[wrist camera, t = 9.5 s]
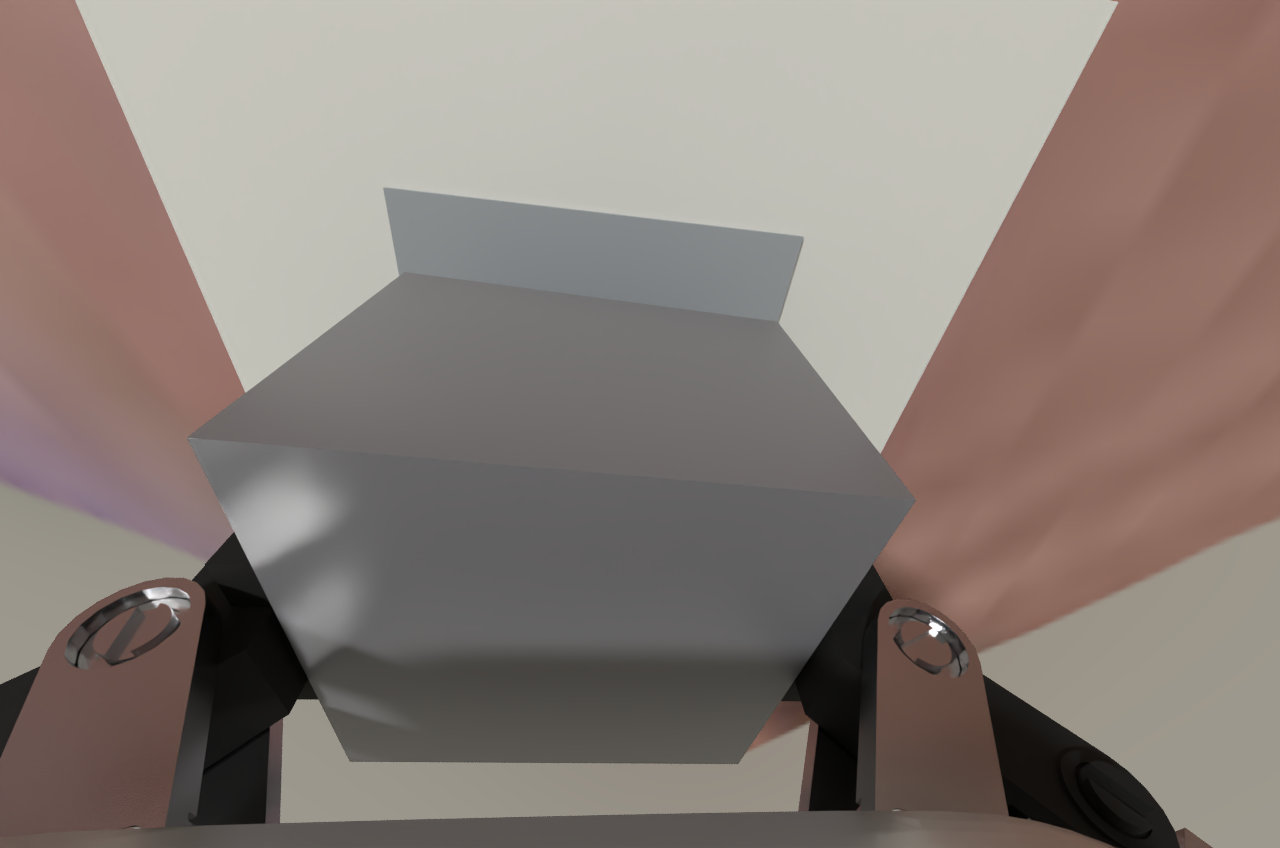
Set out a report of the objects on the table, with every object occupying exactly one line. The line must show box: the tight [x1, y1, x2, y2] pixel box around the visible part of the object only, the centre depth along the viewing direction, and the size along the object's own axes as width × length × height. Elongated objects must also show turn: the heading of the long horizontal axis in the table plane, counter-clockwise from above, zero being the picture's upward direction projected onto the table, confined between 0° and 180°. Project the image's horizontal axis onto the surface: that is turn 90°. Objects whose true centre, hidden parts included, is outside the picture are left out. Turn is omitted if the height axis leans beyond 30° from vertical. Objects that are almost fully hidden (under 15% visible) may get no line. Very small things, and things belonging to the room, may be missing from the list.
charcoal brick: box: [187, 272, 916, 764], centre depth 8 cm, size 7×7×5 cm
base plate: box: [75, 0, 1118, 453], centre depth 13 cm, size 18×18×1 cm
